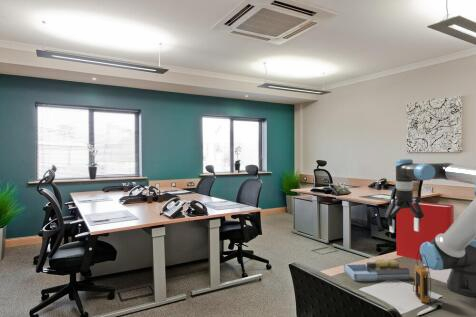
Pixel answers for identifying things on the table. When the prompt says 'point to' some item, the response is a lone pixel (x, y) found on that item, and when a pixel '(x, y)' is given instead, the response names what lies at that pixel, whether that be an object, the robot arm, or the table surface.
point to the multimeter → (422, 283)
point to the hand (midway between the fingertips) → (404, 231)
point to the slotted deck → (389, 276)
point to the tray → (359, 272)
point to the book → (421, 227)
